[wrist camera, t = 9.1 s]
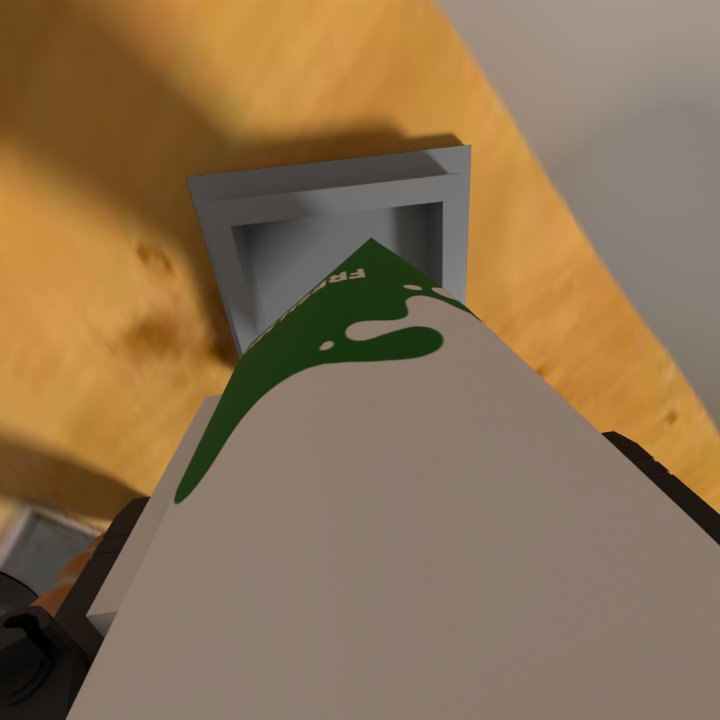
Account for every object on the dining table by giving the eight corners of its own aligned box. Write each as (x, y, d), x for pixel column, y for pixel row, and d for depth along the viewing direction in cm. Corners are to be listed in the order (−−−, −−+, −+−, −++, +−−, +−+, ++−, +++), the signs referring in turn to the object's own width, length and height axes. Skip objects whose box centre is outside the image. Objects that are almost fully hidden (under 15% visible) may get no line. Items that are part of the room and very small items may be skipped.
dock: (257, 405, 28) (247, 439, 24) (191, 176, 20) (163, 177, 17) (457, 378, 28) (477, 407, 25) (465, 146, 21) (493, 139, 17)
